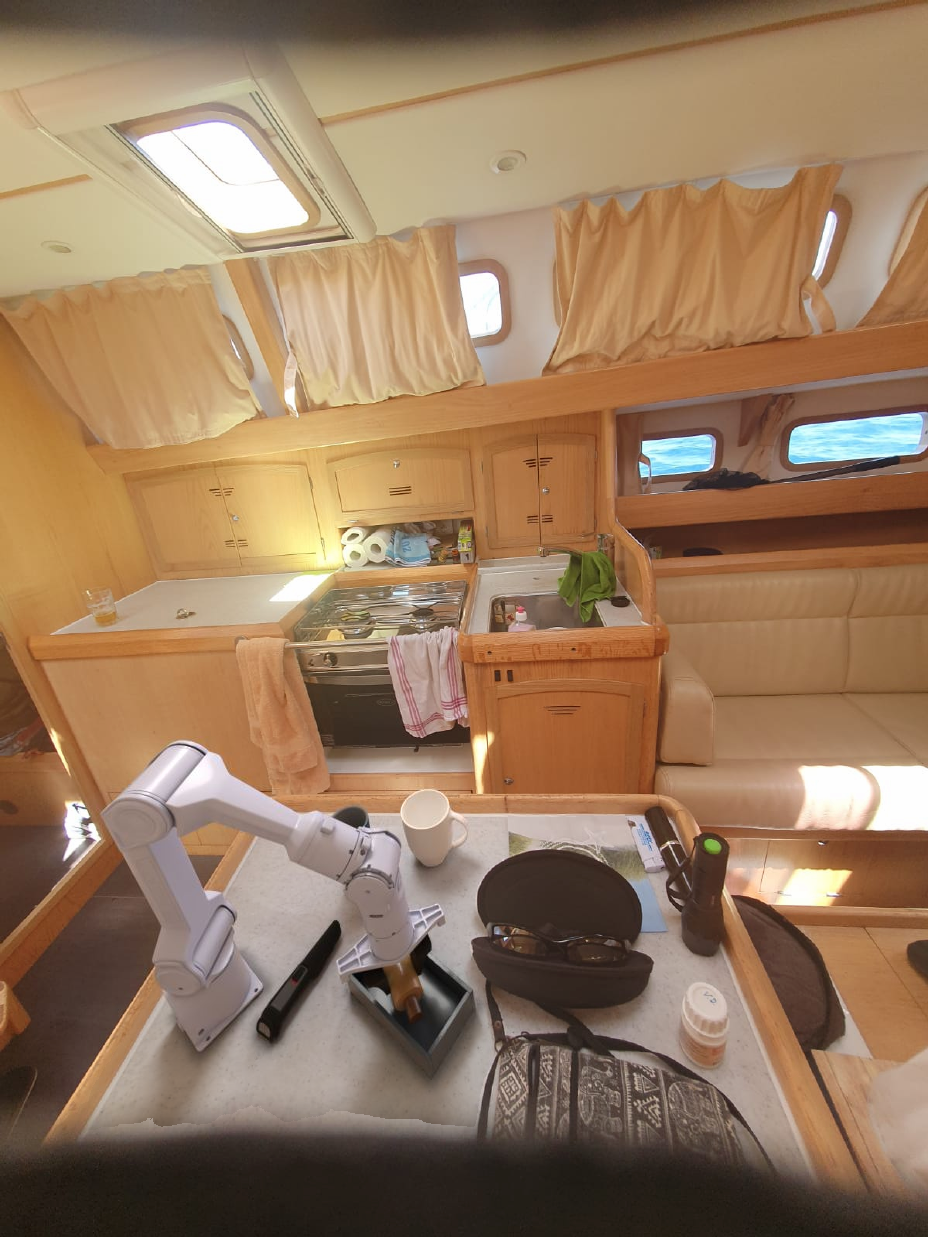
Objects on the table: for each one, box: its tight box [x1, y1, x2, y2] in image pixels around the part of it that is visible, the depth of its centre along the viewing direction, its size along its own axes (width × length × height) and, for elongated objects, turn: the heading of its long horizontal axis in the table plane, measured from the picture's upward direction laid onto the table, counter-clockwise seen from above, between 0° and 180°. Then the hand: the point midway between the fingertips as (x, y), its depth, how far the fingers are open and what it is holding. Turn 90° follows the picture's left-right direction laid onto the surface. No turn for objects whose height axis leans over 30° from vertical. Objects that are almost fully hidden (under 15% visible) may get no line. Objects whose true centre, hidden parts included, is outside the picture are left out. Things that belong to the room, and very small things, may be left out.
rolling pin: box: [383, 954, 423, 1023], centre depth 63 cm, size 4×11×4 cm, turn 28°
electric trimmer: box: [255, 919, 343, 1043], centre depth 67 cm, size 4×16×3 cm, turn 153°
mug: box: [400, 788, 469, 868], centre depth 83 cm, size 12×9×12 cm
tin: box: [346, 952, 476, 1080], centre depth 63 cm, size 9×16×4 cm, turn 52°
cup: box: [331, 804, 371, 829], centre depth 78 cm, size 7×7×15 cm
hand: (402, 977), depth 63 cm, fingers closed on rolling pin, 4 cm apart
